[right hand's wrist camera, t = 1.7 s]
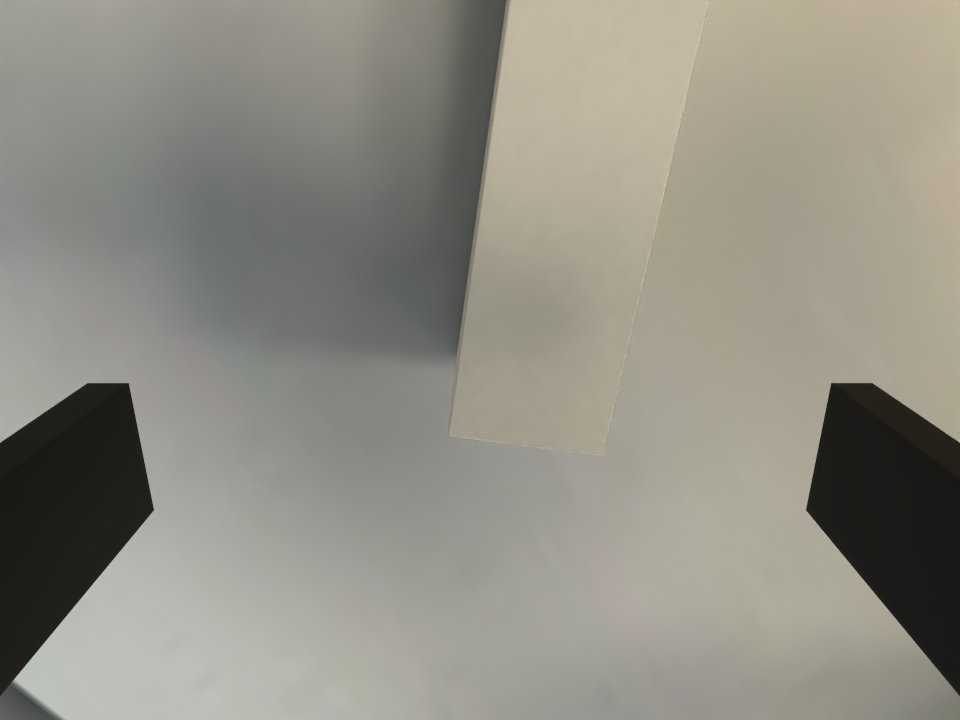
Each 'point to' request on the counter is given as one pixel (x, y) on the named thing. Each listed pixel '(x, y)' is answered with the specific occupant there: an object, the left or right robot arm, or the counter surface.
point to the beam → (568, 214)
